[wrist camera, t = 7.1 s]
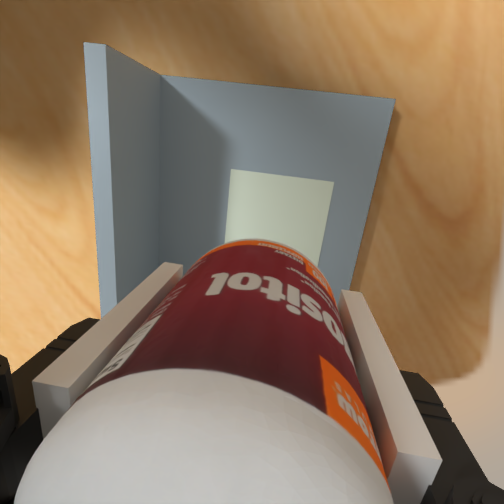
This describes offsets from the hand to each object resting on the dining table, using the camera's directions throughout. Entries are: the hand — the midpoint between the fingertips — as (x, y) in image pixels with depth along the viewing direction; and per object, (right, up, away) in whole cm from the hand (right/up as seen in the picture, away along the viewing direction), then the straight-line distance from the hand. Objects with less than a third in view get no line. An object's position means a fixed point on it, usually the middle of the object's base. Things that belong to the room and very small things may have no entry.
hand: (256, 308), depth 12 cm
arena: (0, +5, +14) cm, 15 cm away
